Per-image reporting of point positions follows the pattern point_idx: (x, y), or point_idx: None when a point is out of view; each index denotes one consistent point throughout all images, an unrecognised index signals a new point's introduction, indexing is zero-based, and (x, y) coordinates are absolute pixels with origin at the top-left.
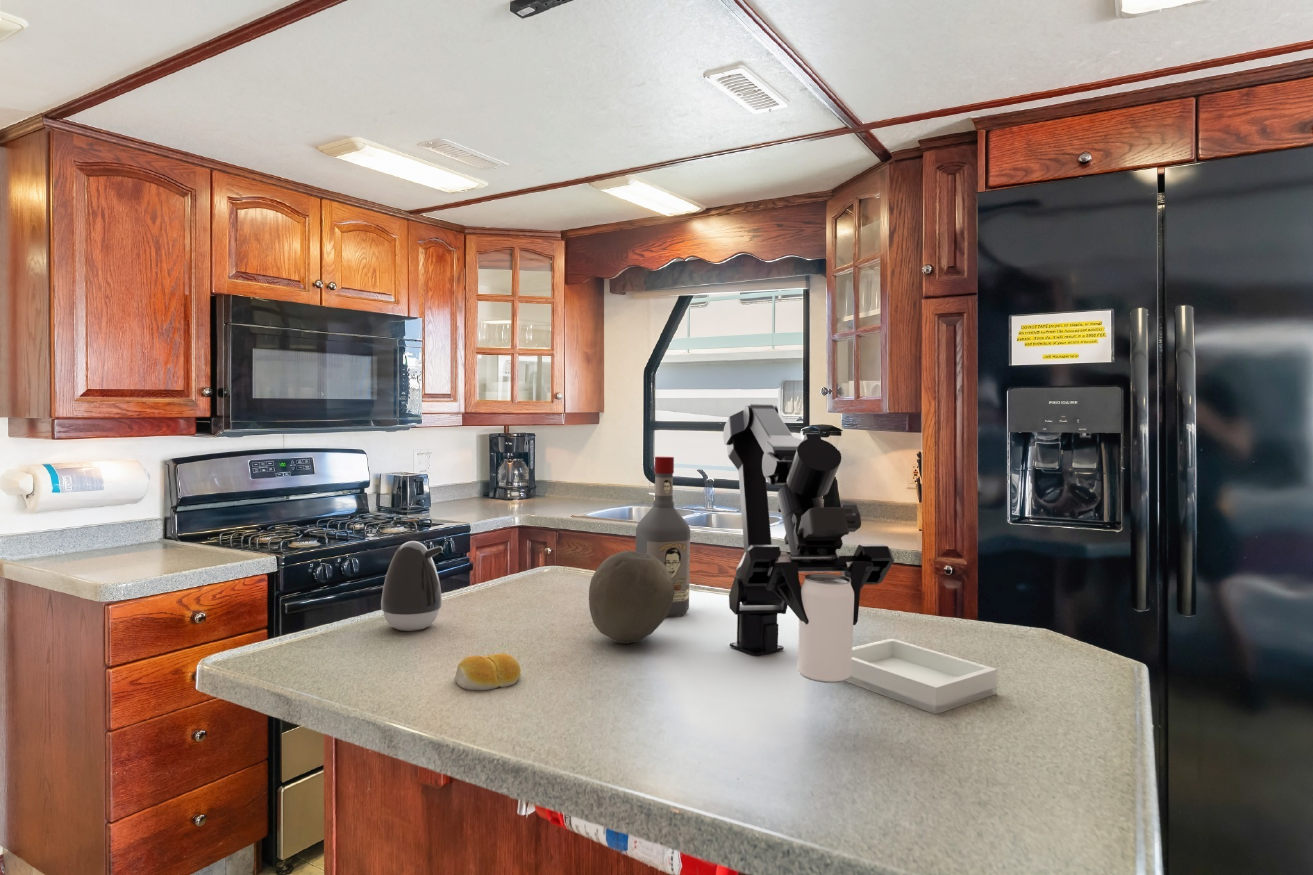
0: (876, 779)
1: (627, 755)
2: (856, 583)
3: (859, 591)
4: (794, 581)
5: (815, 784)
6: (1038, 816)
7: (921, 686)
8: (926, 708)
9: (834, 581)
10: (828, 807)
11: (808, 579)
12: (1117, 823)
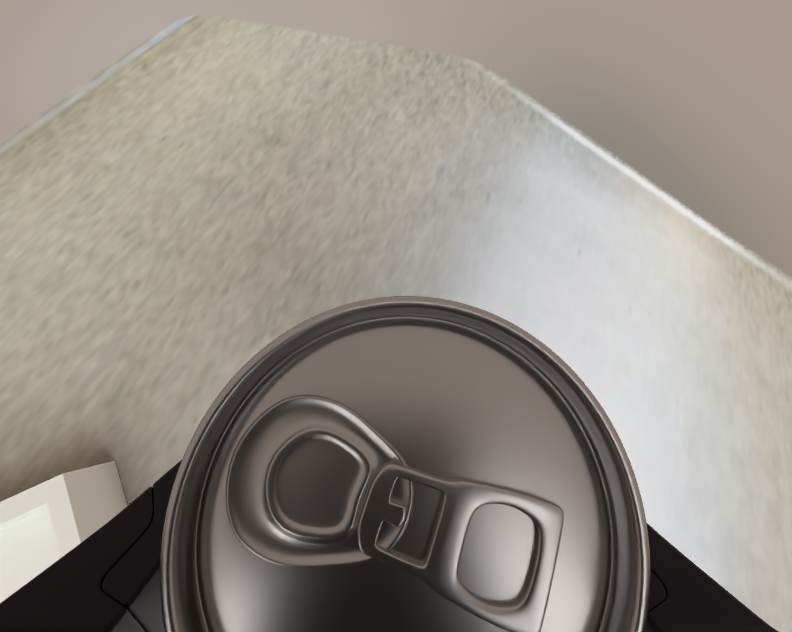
0: (382, 219)
1: (740, 350)
2: (87, 579)
3: (129, 509)
4: (699, 619)
5: (475, 219)
6: (225, 103)
7: (82, 513)
8: (116, 483)
9: (354, 478)
10: (478, 162)
11: (631, 473)
12: (140, 75)
